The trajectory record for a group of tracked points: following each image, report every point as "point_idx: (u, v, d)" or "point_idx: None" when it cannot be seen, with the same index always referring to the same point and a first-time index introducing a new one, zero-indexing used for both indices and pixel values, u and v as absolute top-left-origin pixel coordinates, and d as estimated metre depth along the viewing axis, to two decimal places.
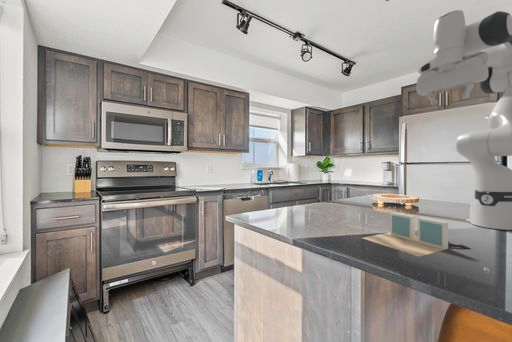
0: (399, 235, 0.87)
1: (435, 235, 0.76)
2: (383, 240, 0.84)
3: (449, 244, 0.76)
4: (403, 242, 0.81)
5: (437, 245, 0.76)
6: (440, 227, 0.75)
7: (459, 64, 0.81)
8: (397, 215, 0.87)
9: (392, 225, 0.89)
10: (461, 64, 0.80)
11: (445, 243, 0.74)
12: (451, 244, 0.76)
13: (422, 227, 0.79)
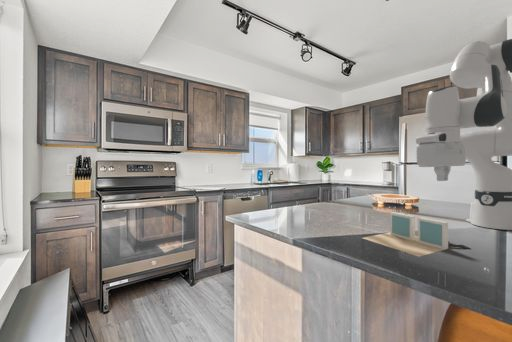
0: (399, 235, 0.87)
1: (435, 235, 0.76)
2: (383, 240, 0.84)
3: (449, 244, 0.76)
4: (403, 242, 0.81)
5: (437, 245, 0.76)
6: (440, 227, 0.75)
7: (455, 145, 0.79)
8: (397, 215, 0.87)
9: (392, 225, 0.89)
10: (456, 145, 0.79)
11: (445, 243, 0.74)
12: (451, 244, 0.76)
13: (422, 227, 0.79)
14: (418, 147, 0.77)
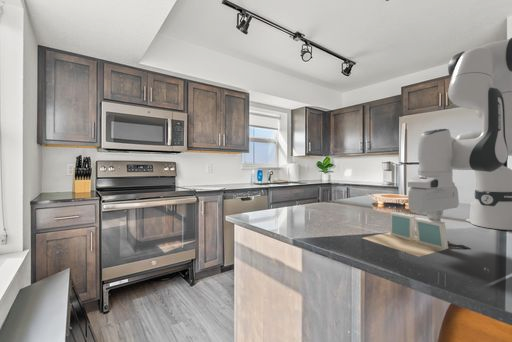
0: (399, 235, 0.87)
1: (434, 236, 0.76)
2: (383, 240, 0.84)
3: (449, 244, 0.76)
4: (403, 242, 0.81)
5: (437, 245, 0.76)
6: (438, 228, 0.74)
7: (448, 189, 0.78)
8: (397, 215, 0.87)
9: (392, 225, 0.89)
10: (449, 189, 0.78)
11: (444, 243, 0.74)
12: (451, 244, 0.76)
13: (420, 227, 0.79)
14: (410, 191, 0.75)
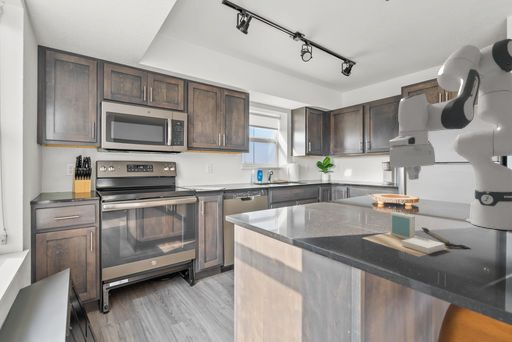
0: (399, 235, 0.87)
1: None
2: (383, 240, 0.84)
3: (449, 244, 0.76)
4: None
5: None
6: None
7: (425, 147, 0.87)
8: (397, 215, 0.87)
9: (392, 225, 0.89)
10: (425, 147, 0.88)
11: (441, 248, 0.73)
12: (451, 244, 0.76)
13: None
14: (391, 149, 0.85)
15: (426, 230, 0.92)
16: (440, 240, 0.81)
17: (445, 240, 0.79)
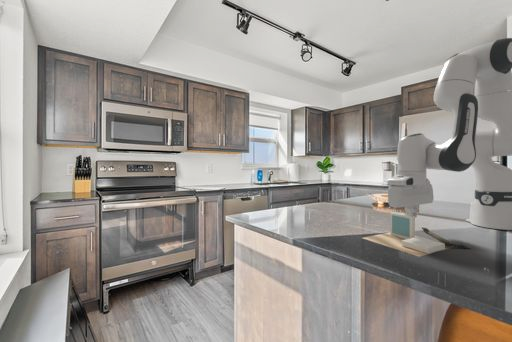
0: (399, 235, 0.87)
1: None
2: (383, 240, 0.84)
3: (449, 244, 0.76)
4: None
5: None
6: None
7: (423, 186, 0.88)
8: (397, 215, 0.87)
9: (392, 225, 0.89)
10: (424, 186, 0.89)
11: (441, 248, 0.73)
12: (451, 244, 0.76)
13: None
14: (389, 189, 0.86)
15: (426, 230, 0.92)
16: (440, 240, 0.81)
17: (445, 240, 0.79)
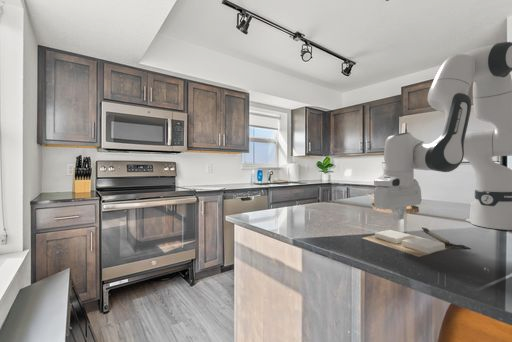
0: None
1: None
2: (383, 240, 0.84)
3: (449, 244, 0.76)
4: None
5: None
6: None
7: (410, 187, 0.86)
8: None
9: None
10: (411, 187, 0.86)
11: (441, 248, 0.73)
12: (451, 244, 0.76)
13: None
14: (375, 189, 0.83)
15: (426, 230, 0.92)
16: (440, 240, 0.81)
17: (445, 240, 0.79)
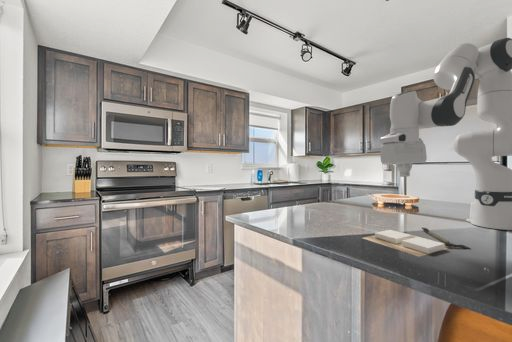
0: None
1: None
2: (383, 240, 0.84)
3: (449, 244, 0.76)
4: None
5: None
6: None
7: (416, 144, 0.88)
8: None
9: None
10: (417, 145, 0.88)
11: (441, 248, 0.73)
12: (451, 244, 0.76)
13: None
14: (382, 146, 0.85)
15: (426, 230, 0.92)
16: (440, 240, 0.81)
17: (445, 240, 0.79)
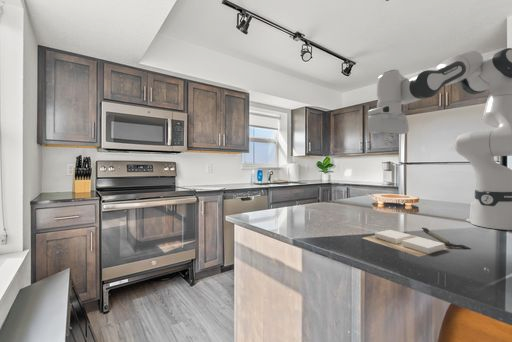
0: None
1: None
2: (383, 240, 0.84)
3: (449, 244, 0.76)
4: None
5: None
6: None
7: (399, 117, 1.02)
8: None
9: None
10: (400, 117, 1.02)
11: (441, 248, 0.73)
12: (451, 244, 0.76)
13: None
14: (369, 117, 1.00)
15: (426, 230, 0.92)
16: (440, 240, 0.81)
17: (445, 240, 0.79)
